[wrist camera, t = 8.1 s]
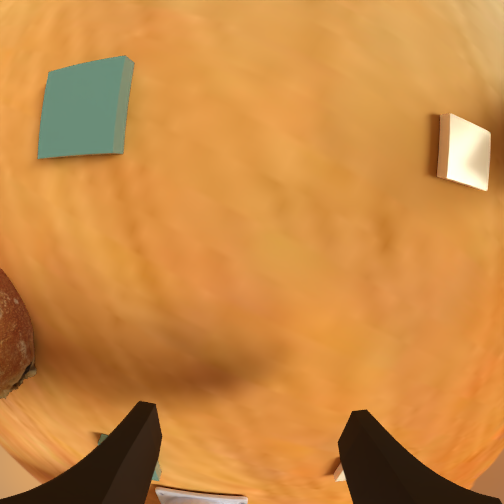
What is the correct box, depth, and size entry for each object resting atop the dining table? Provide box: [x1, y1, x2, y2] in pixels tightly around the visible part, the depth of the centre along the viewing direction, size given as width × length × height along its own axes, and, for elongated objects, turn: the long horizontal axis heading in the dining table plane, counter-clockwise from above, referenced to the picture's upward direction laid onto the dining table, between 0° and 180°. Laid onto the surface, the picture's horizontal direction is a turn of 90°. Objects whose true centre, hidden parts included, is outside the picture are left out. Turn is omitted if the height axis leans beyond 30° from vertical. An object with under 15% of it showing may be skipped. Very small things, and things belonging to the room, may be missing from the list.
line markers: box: [38, 56, 491, 482], centre depth 13 cm, size 26×20×1 cm
